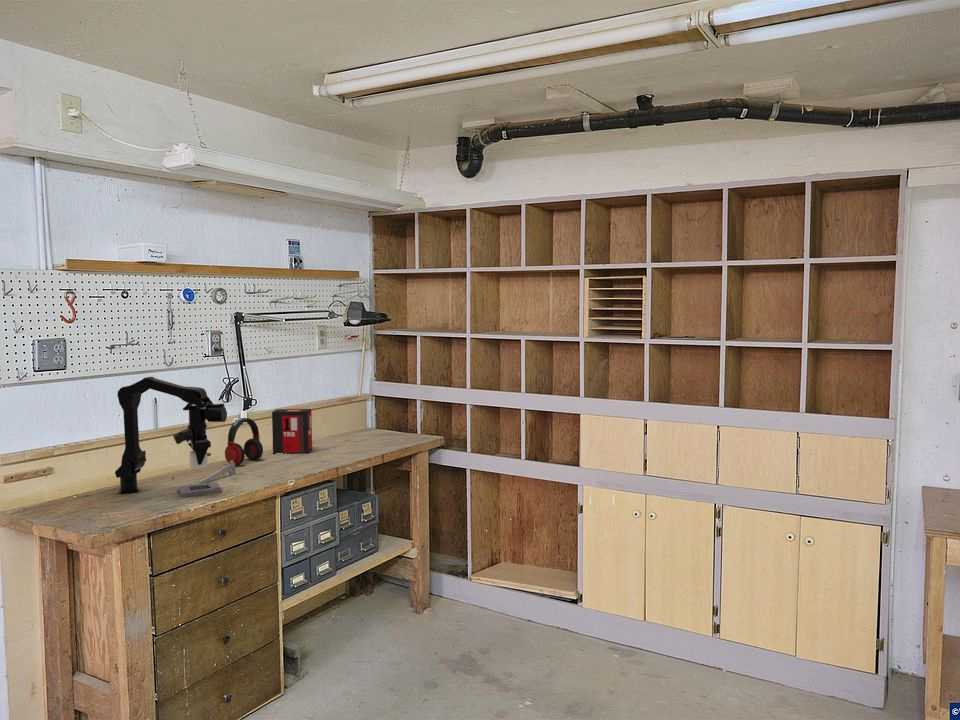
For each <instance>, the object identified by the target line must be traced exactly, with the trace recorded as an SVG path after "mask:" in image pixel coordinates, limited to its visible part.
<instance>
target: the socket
mask: <svg viewBox="0 0 960 720" xmlns="http://www.w3.org/2000/svg"><path fill="white" fill-rule="evenodd" d="M177 492H178V493H179V496H180V497H181V498H183V499H184V498H189V497H199V496H204V495H205V494H207V495H214V493H215V494H223V488H222V487H221V485H220V484H219V483H218V482H217V481H211V482H206V483H203V484H198V483H195V484H187V485H179V486H177ZM198 495H199V496H198Z"/></svg>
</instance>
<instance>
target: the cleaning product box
mask: <svg viewBox="0 0 960 720" xmlns="http://www.w3.org/2000/svg"><path fill="white" fill-rule="evenodd" d="M312 420H313V419H312V408H292V409H291V408H279V409H278V408H277V409H275V410H273V411H271V423H272V429H271V430H272V454H273V455H277V454H276V453H283V454H282V455H309V454H310V453H311V452H312V451H313V431H312V430H313V427H312V426H313V422H312ZM285 453H286V454H285Z"/></svg>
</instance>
